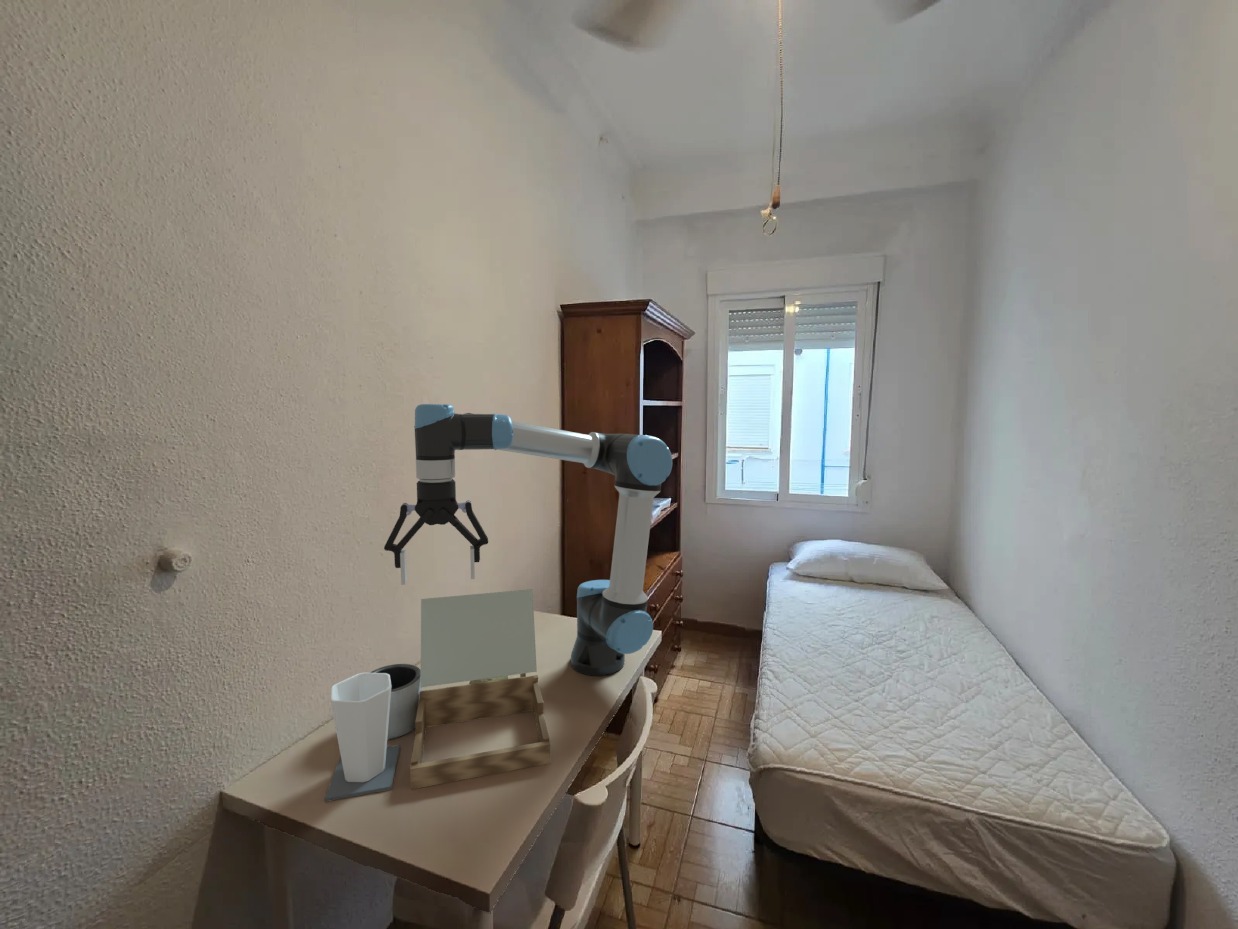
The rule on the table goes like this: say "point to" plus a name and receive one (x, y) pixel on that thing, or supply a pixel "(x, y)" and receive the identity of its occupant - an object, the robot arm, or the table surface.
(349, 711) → the cup
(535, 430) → the robot arm
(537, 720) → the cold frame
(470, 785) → the table surface
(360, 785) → the mat
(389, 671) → the planter
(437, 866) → the table surface
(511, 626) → the lid
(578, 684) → the table surface
